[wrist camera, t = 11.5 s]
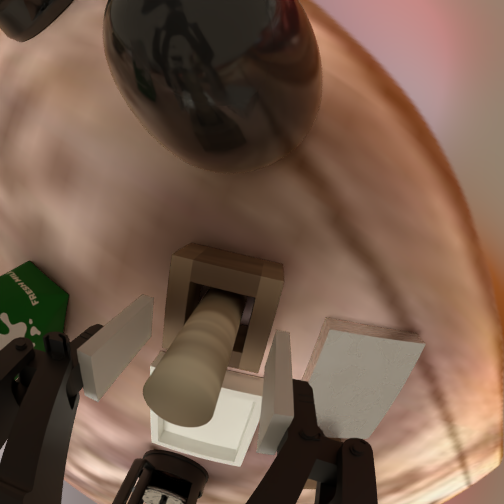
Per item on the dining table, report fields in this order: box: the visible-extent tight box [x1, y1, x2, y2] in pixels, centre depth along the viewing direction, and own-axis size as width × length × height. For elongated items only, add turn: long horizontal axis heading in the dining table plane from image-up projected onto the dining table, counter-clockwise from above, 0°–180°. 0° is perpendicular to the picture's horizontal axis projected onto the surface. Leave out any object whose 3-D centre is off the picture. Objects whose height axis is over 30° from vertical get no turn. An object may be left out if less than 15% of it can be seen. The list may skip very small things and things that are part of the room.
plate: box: [302, 317, 425, 439], centre depth 21 cm, size 12×9×2 cm
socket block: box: [162, 243, 284, 373], centre depth 19 cm, size 7×7×4 cm
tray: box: [150, 351, 264, 467], centre depth 23 cm, size 12×10×2 cm
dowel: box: [143, 287, 247, 427], centre depth 15 cm, size 3×3×12 cm
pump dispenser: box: [103, 0, 322, 173], centre depth 11 cm, size 10×10×15 cm
